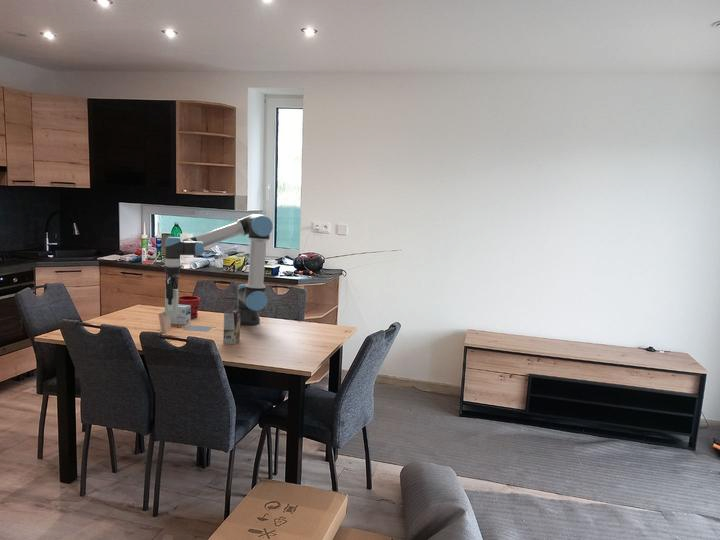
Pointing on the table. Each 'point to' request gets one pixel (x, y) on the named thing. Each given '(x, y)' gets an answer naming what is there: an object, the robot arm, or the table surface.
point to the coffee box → (231, 326)
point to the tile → (164, 322)
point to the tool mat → (197, 328)
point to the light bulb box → (182, 315)
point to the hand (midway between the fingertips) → (171, 309)
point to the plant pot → (191, 301)
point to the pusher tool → (175, 303)
